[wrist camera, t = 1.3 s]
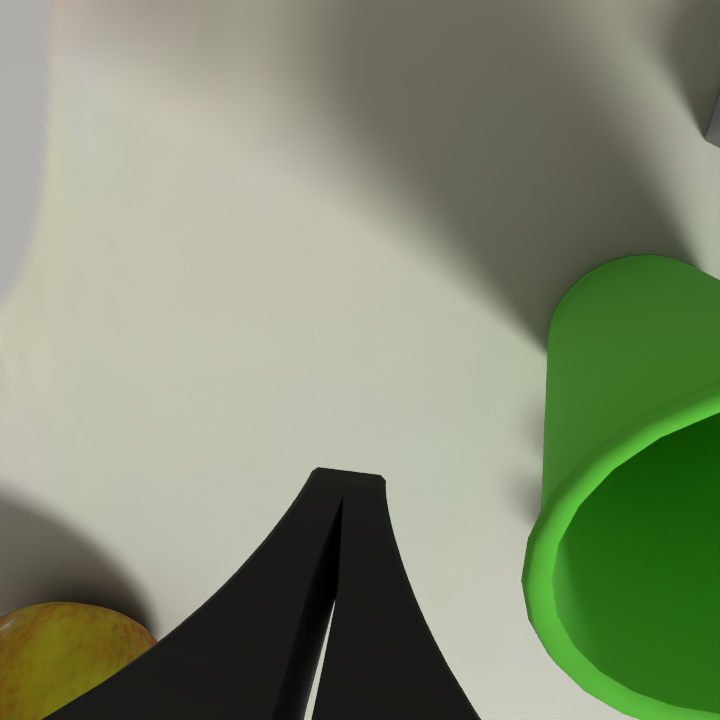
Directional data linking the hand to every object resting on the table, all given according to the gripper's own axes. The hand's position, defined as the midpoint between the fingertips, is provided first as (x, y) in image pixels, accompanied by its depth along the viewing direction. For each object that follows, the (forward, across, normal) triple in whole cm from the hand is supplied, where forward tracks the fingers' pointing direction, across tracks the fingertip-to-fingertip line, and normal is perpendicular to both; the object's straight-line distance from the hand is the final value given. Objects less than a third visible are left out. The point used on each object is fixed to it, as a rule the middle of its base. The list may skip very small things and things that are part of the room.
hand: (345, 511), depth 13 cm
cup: (+11, -8, 0) cm, 13 cm away
